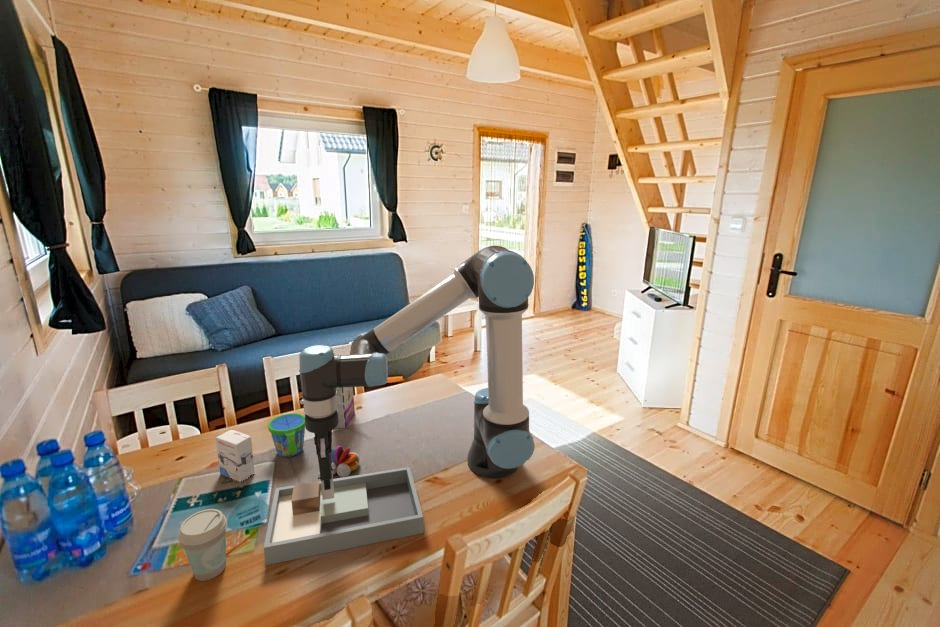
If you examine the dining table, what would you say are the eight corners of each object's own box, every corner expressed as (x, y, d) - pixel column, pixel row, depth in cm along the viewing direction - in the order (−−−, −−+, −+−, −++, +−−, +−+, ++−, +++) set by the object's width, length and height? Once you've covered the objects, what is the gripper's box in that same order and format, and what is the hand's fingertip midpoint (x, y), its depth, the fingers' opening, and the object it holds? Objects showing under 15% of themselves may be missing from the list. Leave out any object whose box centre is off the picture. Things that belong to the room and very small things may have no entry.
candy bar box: (341, 412, 158) (338, 370, 154) (355, 413, 158) (352, 370, 154) (331, 429, 147) (327, 384, 143) (346, 429, 147) (343, 384, 143)
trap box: (410, 481, 121) (409, 466, 120) (423, 533, 103) (423, 516, 102) (277, 503, 112) (275, 488, 111) (265, 565, 93) (263, 547, 92)
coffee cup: (200, 594, 87) (190, 543, 83) (178, 574, 91) (168, 526, 88) (241, 564, 94) (234, 517, 90) (219, 547, 98) (211, 501, 95)
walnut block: (320, 494, 112) (319, 481, 110) (319, 510, 106) (318, 496, 105) (295, 499, 110) (293, 485, 109) (293, 515, 104) (291, 501, 103)
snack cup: (310, 461, 129) (307, 430, 127) (271, 469, 125) (267, 438, 123) (307, 435, 143) (304, 407, 141) (272, 441, 139) (268, 412, 137)
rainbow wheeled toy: (350, 481, 121) (349, 458, 119) (318, 476, 123) (316, 453, 121) (364, 463, 129) (362, 441, 127) (333, 459, 131) (332, 437, 129)
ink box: (219, 474, 123) (213, 437, 120) (235, 465, 127) (230, 428, 124) (241, 483, 119) (235, 445, 116) (256, 473, 124) (251, 436, 121)
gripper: (305, 400, 108) (313, 483, 114) (302, 427, 96) (311, 518, 102) (337, 397, 110) (343, 478, 116) (337, 422, 98) (344, 511, 104)
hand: (328, 497), depth 109 cm, fingers closed
